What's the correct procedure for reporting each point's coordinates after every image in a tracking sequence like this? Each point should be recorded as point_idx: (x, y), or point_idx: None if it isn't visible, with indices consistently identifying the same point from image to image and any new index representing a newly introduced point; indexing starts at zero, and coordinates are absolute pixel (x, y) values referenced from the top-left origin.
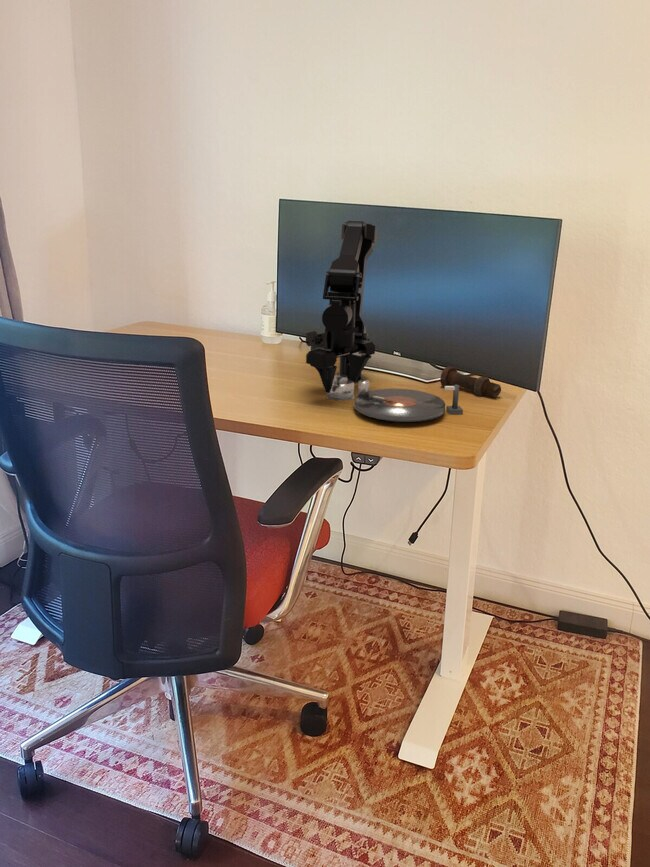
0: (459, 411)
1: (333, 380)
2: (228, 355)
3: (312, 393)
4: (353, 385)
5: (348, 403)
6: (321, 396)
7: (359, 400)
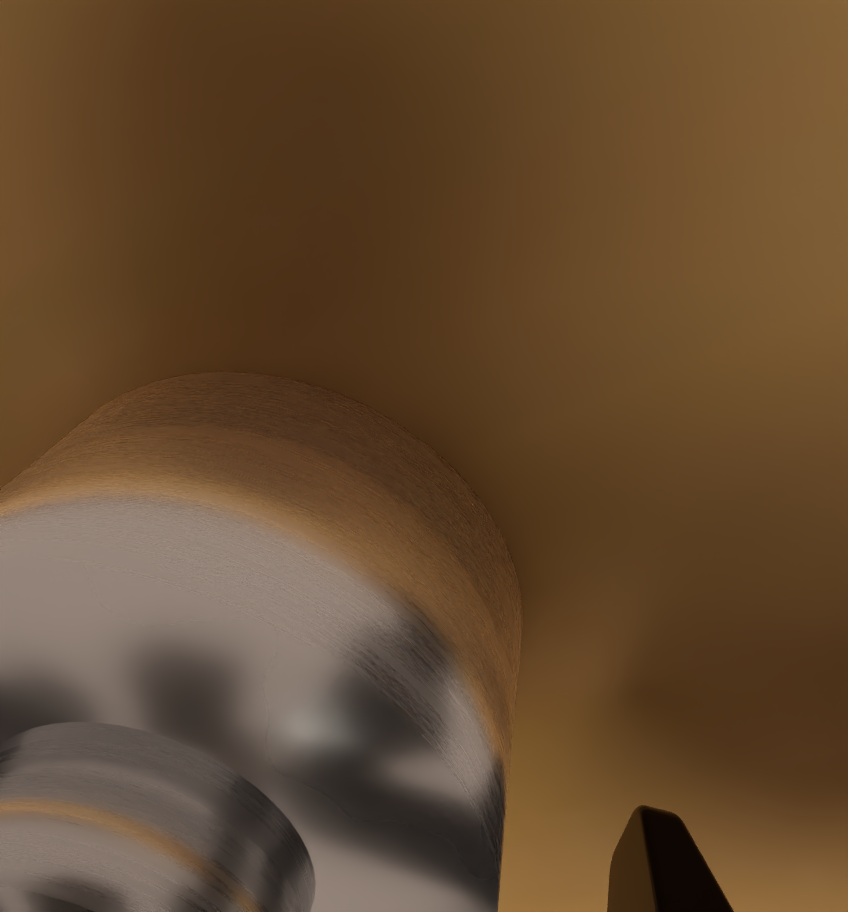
0: None
1: (128, 688)
2: None
3: (32, 13)
4: None
5: None
6: (27, 321)
7: None
